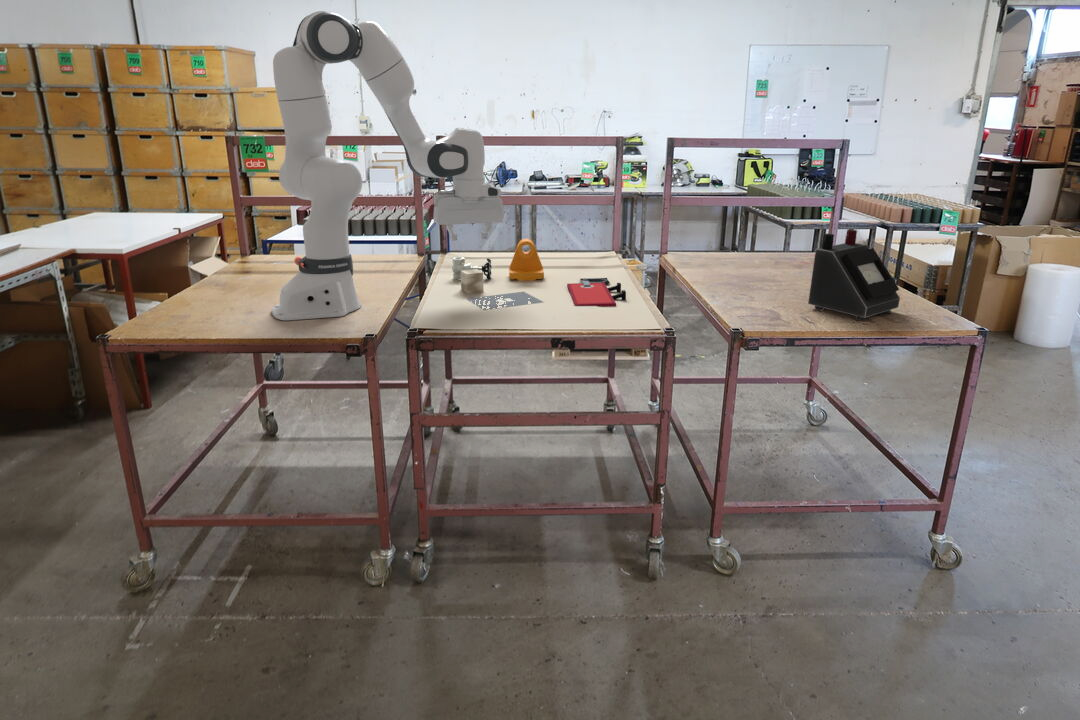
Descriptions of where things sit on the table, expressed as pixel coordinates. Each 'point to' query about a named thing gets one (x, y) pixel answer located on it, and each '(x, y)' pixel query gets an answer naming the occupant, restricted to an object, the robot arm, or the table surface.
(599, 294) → the red board with handle
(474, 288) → the maple block
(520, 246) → the bracket
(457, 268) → the valve
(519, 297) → the grey mat
